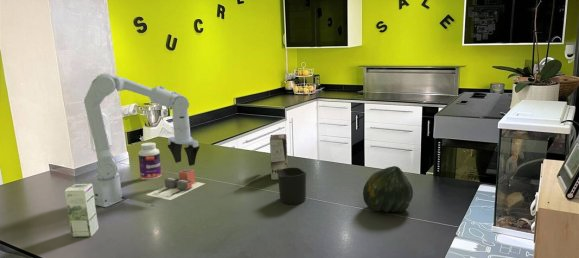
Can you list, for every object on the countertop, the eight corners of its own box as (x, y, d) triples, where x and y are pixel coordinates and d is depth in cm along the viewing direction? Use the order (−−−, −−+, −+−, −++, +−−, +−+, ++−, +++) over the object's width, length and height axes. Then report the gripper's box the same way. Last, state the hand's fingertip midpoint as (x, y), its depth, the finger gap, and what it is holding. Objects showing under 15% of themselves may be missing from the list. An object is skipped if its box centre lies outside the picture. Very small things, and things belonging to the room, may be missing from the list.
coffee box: (287, 179, 167) (286, 139, 163) (271, 180, 167) (269, 139, 163) (288, 172, 176) (286, 133, 172) (272, 172, 176) (270, 134, 172)
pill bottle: (147, 183, 168) (143, 147, 165) (137, 179, 173) (133, 144, 170) (165, 178, 173) (162, 143, 171) (155, 174, 179) (152, 140, 176)
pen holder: (309, 195, 149) (308, 168, 147) (303, 206, 140) (302, 177, 138) (283, 194, 152) (282, 166, 150) (275, 204, 143) (274, 175, 141)
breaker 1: (173, 188, 157) (172, 180, 156) (165, 187, 159) (164, 179, 158) (179, 186, 160) (178, 178, 159) (171, 184, 162) (170, 176, 161)
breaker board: (170, 203, 147) (170, 199, 146) (146, 197, 153) (145, 194, 152) (205, 186, 162) (205, 183, 162) (181, 182, 168) (181, 179, 168)
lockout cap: (188, 186, 159) (186, 172, 158) (180, 184, 161) (178, 171, 160) (195, 182, 163) (194, 169, 162) (187, 181, 165) (186, 168, 164)
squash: (351, 186, 141) (368, 160, 130) (390, 181, 147) (410, 156, 135) (367, 225, 134) (387, 202, 122) (407, 218, 139) (430, 196, 127)
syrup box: (99, 228, 129) (92, 182, 126) (91, 237, 123) (84, 189, 120) (80, 229, 129) (73, 183, 126) (71, 238, 123) (63, 190, 120)
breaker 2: (187, 191, 154) (186, 183, 153) (177, 189, 156) (176, 181, 155) (192, 188, 156) (192, 180, 156) (183, 186, 159) (182, 178, 158)
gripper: (203, 127, 155) (206, 163, 158) (177, 123, 164) (180, 158, 167) (188, 131, 150) (192, 168, 153) (162, 127, 158) (165, 162, 161)
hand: (185, 163), depth 159 cm, fingers open, 7 cm apart
